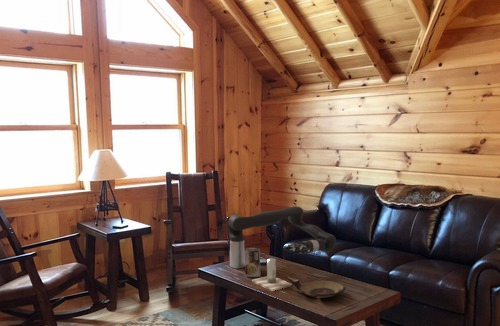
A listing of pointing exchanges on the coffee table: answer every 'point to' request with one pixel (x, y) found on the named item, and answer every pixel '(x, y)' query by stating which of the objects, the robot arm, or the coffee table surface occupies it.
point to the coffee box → (252, 262)
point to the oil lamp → (318, 288)
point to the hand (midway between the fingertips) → (289, 250)
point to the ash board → (271, 286)
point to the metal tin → (271, 270)
